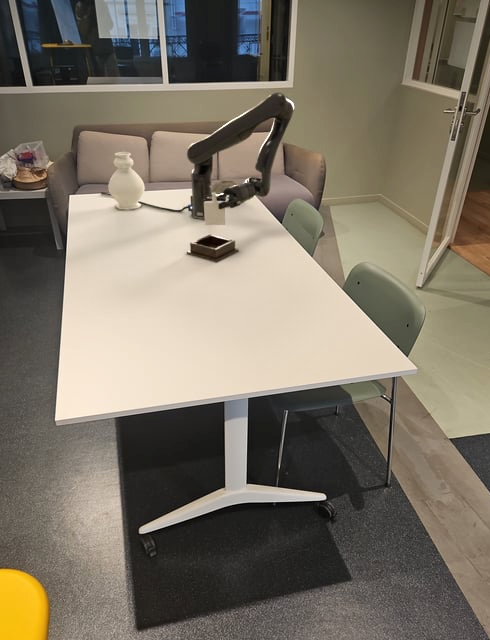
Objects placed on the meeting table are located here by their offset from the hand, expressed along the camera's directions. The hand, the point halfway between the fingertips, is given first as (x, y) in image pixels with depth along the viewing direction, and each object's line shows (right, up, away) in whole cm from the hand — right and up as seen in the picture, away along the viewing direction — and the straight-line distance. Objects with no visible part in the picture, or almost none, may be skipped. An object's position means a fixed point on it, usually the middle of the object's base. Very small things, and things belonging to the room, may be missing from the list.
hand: (211, 204), depth 193 cm
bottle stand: (0, -15, +11) cm, 19 cm away
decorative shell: (+4, +28, +74) cm, 79 cm away
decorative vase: (-46, +22, +64) cm, 82 cm away
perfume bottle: (+1, -6, +6) cm, 8 cm away
